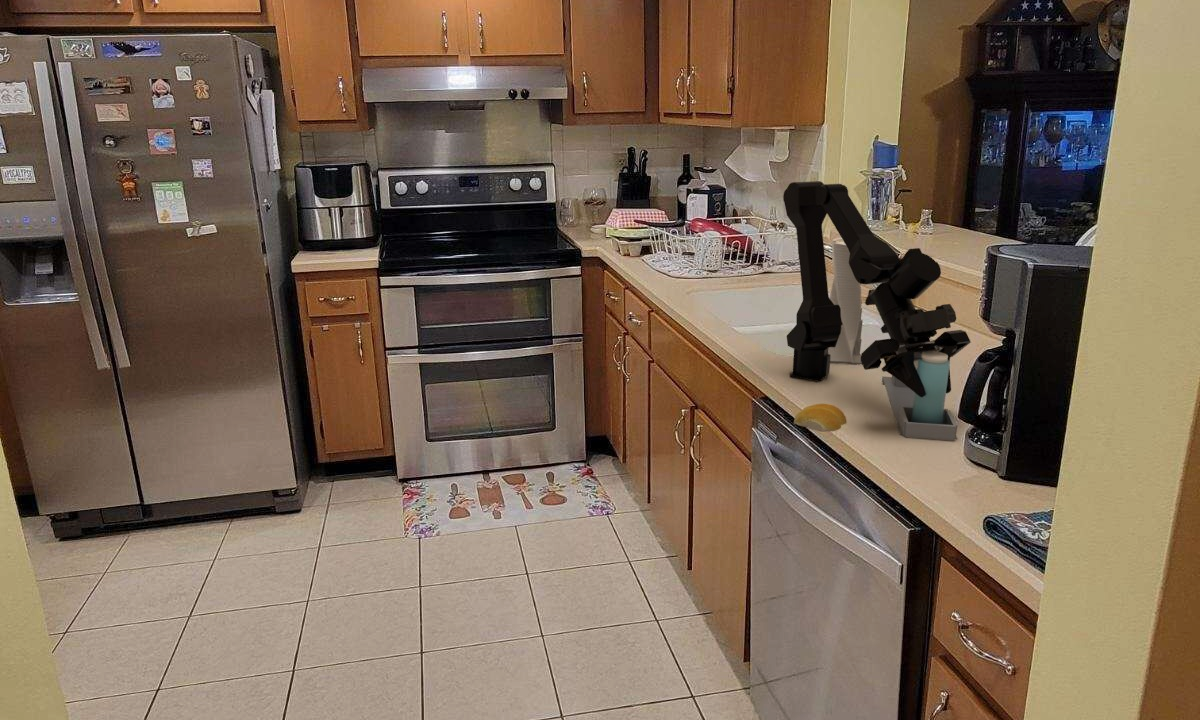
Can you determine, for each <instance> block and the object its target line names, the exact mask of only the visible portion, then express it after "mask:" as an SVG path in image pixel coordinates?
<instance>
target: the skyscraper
mask: <svg viewBox="0 0 1200 720" xmlns="http://www.w3.org/2000/svg"><path fill="white" fill-rule="evenodd" d="M836 241H837V242H836ZM831 247H832V250H831V251H832V264H833V265H832V266H833V267H832V268H833V280H832V284H831V289H830V295H829V298H830V300H831V301H832V302H833V304H834V305H839V306H840V308H841V320H842V323H843V325H841V333H840V335H839V338H838V341H837V344H836V347H829V349H828V354H830V355H831V358H830V364H838V363H848V364H847V365H857V364H862V362H861V348H862V347H861V346H862V342H863V341H862V338H861V337H862V330H863V322H864V321H863V319H862V313H863V312H862V311H863V307H862V303H863V302H862V287H861V285H862V284H860V283H858V281H857V280H856V279H855V277H854V274H853V272H852V270H851V267H850V265H849V256H850V252H849V250H848V247H847V246H846V244H845V242H844V241H843V239H842V237H836V238H833V239H832V241H831Z"/></svg>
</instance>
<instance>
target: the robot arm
mask: <svg viewBox="0 0 1200 720" xmlns="http://www.w3.org/2000/svg"><path fill="white" fill-rule="evenodd" d="M849 195H850V194H849V189H848V187H847V186H846V185H845V184H842V183H826V184H824V183H823V181H821V180H819V181H818V180H816V181H811V180H810V181H794V182H791V183H789V184H788V186H787V187H786V189H785V190H784V192H783V195H782V198H783V202H784V207H785V212H786V216H787V218H788V219H789V221H790V222H791V224H793V226H794V228H795V230H796V231H795V232H796V240H797V251H798V261H799V271H800V282H801V291H802V302H801V303H800V305H799V308H798V309H797V312H796V322H795V323H796V324H795V325H794V327H792V329H791V330H790V331H789V332H788V334H787V335H786V341H787V342H786V343H787V347H790V348H792V349H793V360H792V372H790V373H789V377H790V378H794V379H795V378H796V379H803V380H808V381H813V382H814V381H815V382H821V381H823V380H824V379H825V378H826V377H827V376H828V375H829V374H830V371H831V370H830V368H831V367H830V366H831V363H830V358H831V355H830V354H828V352H829V351H828V349H829V347H836V344H837V341H838V338H839V335H840V333H841V325H843V323H842V320H841V308H840V306H839V305H834V304H833V302H832V301H831V300H830V295H829V288H828V276H827V267H826V257H825V256H826V255H825V245H824V236H823V235H824V234H823V223H824V221H825V219H826V217H827V216H828V217H829V220H830V221H831V222H832V224H833V226H834V228H835V229H836V231H837V232H838V234H839V236H840V238H842V239H843V240H842V241H844V242H845V244H846V246H847V247H848V250H849V252H850V256H849V265H850V267H851V270H852V272H853V274H854V277H855V279H856V280H857V281H858V283H860V284H861V285H873V284H875V285H876V284H878V285H877V286H876V288H875V289H869V290H868V294H867V296H866V298H865V302H864V304H865V305H866V306H873V305H874V306H875V308H876V310H877V312H878V314H879V316H880V319H881V321H882V323H883V325H882V326H881V327H880V331H881V333H882V334H888V336H889V338H884V339H878V340H877V339H876V340H874V341H873V342H872V343H871V344H870V345H869V346H868V347H867V348H866V349H865V350H863V351H862V352H861V353H860V355H861V362H862V366H863V369H864V370H866V371H867V370H874V369H879V368H880V367H881V364H882V360H883V362H884V366H883V367H882V368H881V371H882V372H884V373H885V372H887V374H890V375H891V377H892V376H894V377H895V378H897V379H898V380H900V381H901V382H902V383H904V384H905V385H906V386H907V387H909V388H910V389H911V390H912V391H913V392H915V393H916V394H917V395H918V396H920V397H924V396H925V395H926V392H925V389H924V386H923V384H922V381H921V379H920V377H919V375H918V372H917V370H916V368H915V366H914V354H922V353H923V352H926V351H936V352H941V353H945V354H947V355H948V360H949V361H950V360H951V358H953V357H954V356H956V355H957V354H958V353H959V352H961V351H962V350H964V349H965V347H967V346H968V345H969V344H971V343H972V342H971V339H970V337H969V336H968V334H967V332H966V330H965V331H964V330H961V329H956V330H947V331H944V332H943V333H941V334H940V335H939V336H938V337H937V338H936V339H934V340H931V339H930V338H932V337H935V336H936V335H937V334H938V332H937V331H938V330H943V329H951V328H952V325H951V324H952V323H955V322H956V321H957V315H956V311H955V309H954V308H953V307H952V304H950V303H947V304H945V303H944V304H941V305H937V306H936V307H935V309H933V310H924V309H922V308H917V309H916V307H915V305H914V303H913V300H915V299H918V298H919V297H920V296H921V295H922V294H924V293H925V292H927V291H926V290H928V289H929V288H930V287H931V286H932V285H933V284H934V283H935V282H937V281H938V280H939V278H940V277H941V275H942V272H941V266H940V264H939V263H938V262H937V261H935V259H934V258H932V257H931V256H929V255H928V254H926V253H923V252H922V250H921V248H919V247H917V248H909V249H908V250H907V251H906V252H905V254H904V256H902V257H899V254H897V253H896V252H895V250H894V249H893V248H892V247H891V246H890V245H889V244H888V243H887V242H885V241H883V240H882V239H880V238H878V237H876V235H874V234H873V232H872V230H871V228H870V227H869V226H868V224H867V223H866V220H865V218H864V217H863V215H862V214H861V213H860V211H859V210H858V208H857V207H856V204H855V203H854V202H853V200H852V199H851V197H850V196H849ZM950 362H951V361H950ZM950 368H951V366H950V365H949V373H948V381H947V389H946V394H949V393H950V392H952V384H951V383H952V382H951V371H950Z"/></svg>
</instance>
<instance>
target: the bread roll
mask: <svg viewBox="0 0 1200 720" xmlns="http://www.w3.org/2000/svg"><path fill="white" fill-rule="evenodd" d="M847 422H848V421H847V417H846V416H845V413H844V411H842V410H841V409H840V408H838V407H837V406H835V405H832V404H829V403H816V404H811V405H809V406H808V405H807V406H806V407H805V408H803V409H801V410H800V411H799V412H798V413H797V414H796V415H795V416H794V420H793V424H794V425H797V426H800V427H804V428H808V429H811V430H815V431H820V432H833V431H838V430H840V429H841V428H842V426H843V425H846V424H847Z"/></svg>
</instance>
